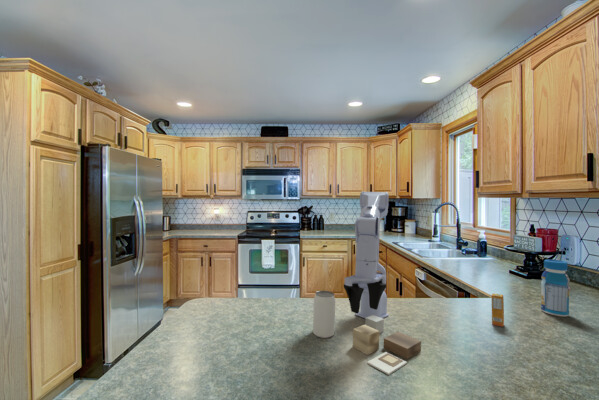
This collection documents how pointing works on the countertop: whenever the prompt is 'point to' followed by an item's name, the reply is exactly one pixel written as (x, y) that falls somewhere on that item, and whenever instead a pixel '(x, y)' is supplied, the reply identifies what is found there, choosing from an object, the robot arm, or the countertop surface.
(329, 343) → the countertop surface
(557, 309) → the supplement bottle
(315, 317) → the can
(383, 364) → the card
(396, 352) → the walnut block
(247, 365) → the countertop surface
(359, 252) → the robot arm
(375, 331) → the maple cube
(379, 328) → the grey cube
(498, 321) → the supplement box
